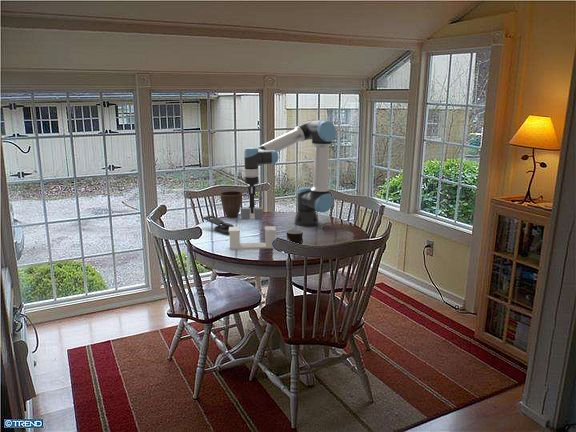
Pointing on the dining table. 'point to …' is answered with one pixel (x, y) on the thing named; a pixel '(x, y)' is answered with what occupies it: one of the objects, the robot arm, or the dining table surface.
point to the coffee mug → (295, 236)
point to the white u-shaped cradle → (237, 245)
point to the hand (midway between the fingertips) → (252, 217)
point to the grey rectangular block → (246, 213)
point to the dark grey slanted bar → (220, 228)
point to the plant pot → (231, 203)
